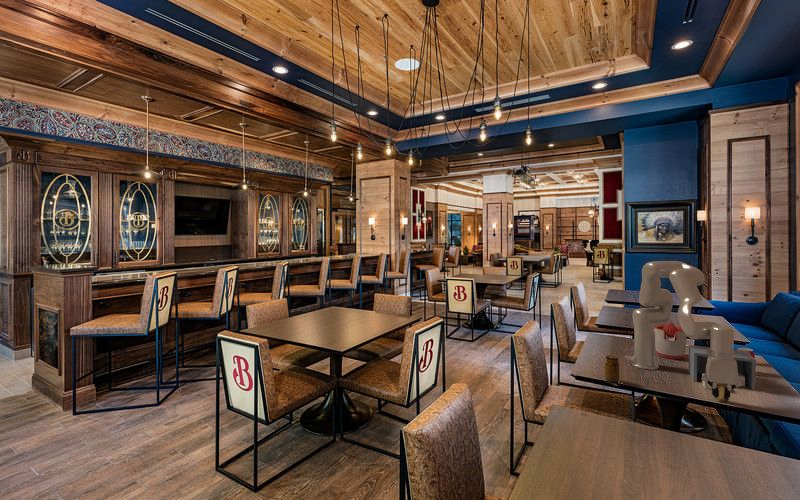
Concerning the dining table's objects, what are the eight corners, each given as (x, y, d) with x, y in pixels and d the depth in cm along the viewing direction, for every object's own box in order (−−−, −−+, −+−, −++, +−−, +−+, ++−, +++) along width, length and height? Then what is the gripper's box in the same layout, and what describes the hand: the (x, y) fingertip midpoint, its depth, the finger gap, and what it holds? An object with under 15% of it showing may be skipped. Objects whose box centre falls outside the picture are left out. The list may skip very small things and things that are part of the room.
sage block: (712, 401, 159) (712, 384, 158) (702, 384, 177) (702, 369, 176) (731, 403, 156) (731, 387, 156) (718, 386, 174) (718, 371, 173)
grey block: (728, 385, 176) (728, 374, 176) (724, 380, 181) (724, 370, 181) (744, 387, 173) (745, 376, 173) (740, 382, 178) (741, 372, 178)
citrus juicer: (653, 358, 213) (653, 324, 213) (653, 350, 228) (654, 318, 227) (687, 363, 205) (688, 327, 204) (685, 355, 219) (686, 321, 218)
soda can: (758, 375, 187) (758, 351, 186) (741, 374, 188) (742, 350, 188) (747, 370, 194) (748, 347, 193) (732, 369, 195) (732, 346, 195)
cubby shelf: (693, 381, 180) (694, 352, 179) (688, 372, 192) (688, 345, 191) (755, 390, 169) (755, 359, 168) (745, 379, 181) (746, 351, 181)
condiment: (611, 377, 187) (611, 353, 186) (626, 383, 179) (626, 359, 178) (600, 379, 184) (600, 355, 184) (615, 386, 176) (615, 361, 176)
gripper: (699, 355, 159) (698, 397, 159) (750, 360, 151) (749, 405, 151) (695, 350, 165) (694, 391, 166) (744, 355, 157) (743, 398, 158)
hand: (720, 397), depth 158 cm, fingers closed on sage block, 3 cm apart
